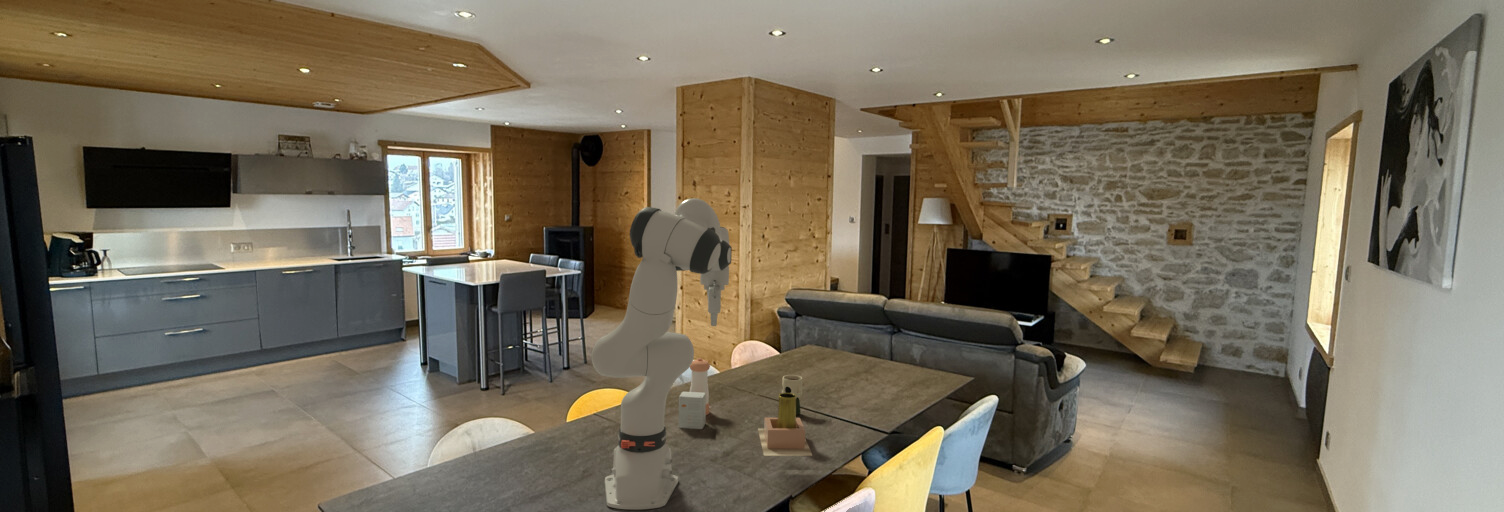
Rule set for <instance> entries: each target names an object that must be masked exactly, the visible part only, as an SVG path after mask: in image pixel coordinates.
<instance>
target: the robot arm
mask: <svg viewBox="0 0 1504 512" xmlns="http://www.w3.org/2000/svg"><path fill="white" fill-rule="evenodd" d="M729 236H730V235H729V230H728V229H727V228H726V227H723V226H721V223H720V220H719V217H718V215H717V213H716V212H715V210H714V209H713V207H712V206H711V205H710V204H709V203H707V201H705V200H703V199H700V198H696V197H693V198H687V199H685V200H683V201H681V203H680V204H678V206H677V208H676V209H675V212H674V213H671V212H667V211H663V210H662V209H660V208H657V207H651V206H649V207H648V206H646V207H644V208H642V209H641V210H639V211H638V213H636V215H635V216H634V218H633V220H632V222H631V225H630V229H629V239H630V243H631V246H632V247H633V249H634V255H635V256H636V257H637V258H638V259H642V260H641V261H640V262H639V264H638V265H637V267H636V269H635V272H634V274H633V277H632V281H631V284H630V287H629V288H630V289H629V294H628V295H629V296H628V300H627V301H628V302H627V308H626V311H625V315H624V318H623V319H622V321H621V322H620V324H619V325H617V326H616V327H615V328H614V329H613V330H612V331H610V332H609V333H607V334H606V335H603V336H601V337H600V338H599V339H597V341H596V342H595V344H594V345H593V347H592V350H591V362H592V366H593V369H594V370H595V371H596V372H597V373H598V374H599V375H600V376H603V377H608V378H615V379H616V378H617V379H622V378H623V379H624V378H637V377H638V378H639V377H644V379H643V380H642V382H641V383H640V384H639V385H638V386H637V387H635V388H633V389H631V390H630V391H628V392H626V394H625V395H624V396H623V398H622V400H621V402H620V428H619V430H618V437H617V439H618V445H617V446H616V447H615V448H614V449H613V466H612V467H613V468H610V475H607V476H605V477H604V490H605V499H606V500H605V501H606V505H607V506H608V507H609V508H613V509H617V510H631V511H632V510H633V511H634V510H651V509H657V508H658V509H659V508H662V507H665V506H666V505H667V503H668V501H669V500H670V498H671V496H672V494H673V492H674V490H675V488H677V486H678V484H679V477H678V476H677V475H674V474H672V473H673V471H672V461H673V459H672V449H671V448H670V447H669V446H668V445H667V443H666V442H667V428H666V426H665V414H666V405H667V398H668V395H669V393H670V390H671V388H672V387H673V385H674V383H676V380H677V379H678V378H680V376H681V375H683V374H684V373H685V372H687V370H689V369H690V365H691V364H692V361H694V356H695V349H694V345H693V343H692V340H691V339H690V338H689V337H688V335H687V334H683V333H678V332H672V331H669V330H670V328H671V326H672V324H673V319H674V315H675V314H674V313H675V308H676V302H677V296H678V273H677V272H683V271H690V272H691V273H695V274H699V276H700V278H699V279H700V280H699V282H700V283H699V284H700V285H703V290H706V296H707V310H708V311H707V312H708V314H710V326H711V327H717V324H718V323H717V321H718V314H720V313H721V309H722V308H721V304H722V303H721V302H722V291H724V290H725V287H726V286H728V285H730V283H729V281H730V264H731V263H732V250H733V247H732V246H731V245H730V237H729Z"/></svg>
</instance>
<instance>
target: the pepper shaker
mask: <svg viewBox="0 0 1504 512" xmlns="http://www.w3.org/2000/svg"><path fill="white" fill-rule="evenodd" d="M710 368H711V364H710V363H709V361H707V360H705V359H703V358H702V357H698V358H697V359H695V360H694V359H693V361H692V364H691V365H690V367H689V369H690V370H691V378H690V379H691V383H690V388H689V392H701V393H706V416H707V415H709V414H710V401H709V400H710V399H709V398H710V397H709V396H710V392H709V391H710V390H709V385H708V373H709V372H708V371H709V370H710Z"/></svg>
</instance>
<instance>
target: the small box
mask: <svg viewBox="0 0 1504 512" xmlns="http://www.w3.org/2000/svg"><path fill="white" fill-rule="evenodd" d="M706 416H707V415H706V393H701V392H690V391H682V392H681V393H680V395H679V396H678V428H679V429H690V430H691V429H692V430H703V429H704V427H705V425H706Z"/></svg>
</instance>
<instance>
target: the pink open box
mask: <svg viewBox="0 0 1504 512" xmlns="http://www.w3.org/2000/svg"><path fill="white" fill-rule="evenodd" d="M801 419H802V418H800V417H796V428H777V424H778V417H764V424H763V426H764V428H763V429H764V437H765V441H766V445H767V448H804V447H805V439H806V429H805V426H804V425H803V422H802V420H801Z"/></svg>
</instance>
